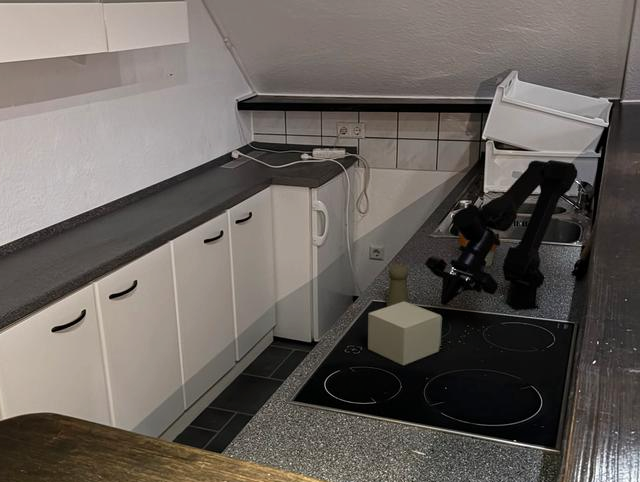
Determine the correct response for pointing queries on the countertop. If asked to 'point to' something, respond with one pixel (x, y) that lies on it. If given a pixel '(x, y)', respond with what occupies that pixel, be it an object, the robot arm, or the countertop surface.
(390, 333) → the beige cube
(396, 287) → the olive brown pawn
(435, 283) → the countertop surface
